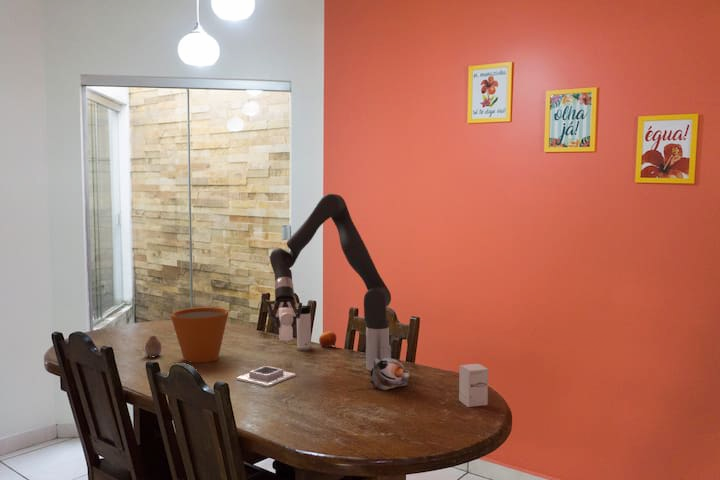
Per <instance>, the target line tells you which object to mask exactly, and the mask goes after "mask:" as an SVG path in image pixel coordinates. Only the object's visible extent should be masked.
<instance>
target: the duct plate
mask: <svg viewBox="0 0 720 480" xmlns="http://www.w3.org/2000/svg"><path fill="white" fill-rule="evenodd" d="M296 376H297V374H296V373H294V372H290V371H286V370H284V369H283V368H278V367H273V366H268V365H264V366H261V367H258V368H254V369H253V370H250V371H249V372H248V373H245V374H243V375H239V376H237V377H236V380H237V381H241V382H246V383H250V384H254V385H257V386H263V387H268V388H269V387H272V386H274V385H276V384H279V383H281V382H284V381H286V380H288V379H291V378H293V377H296Z"/></svg>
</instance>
